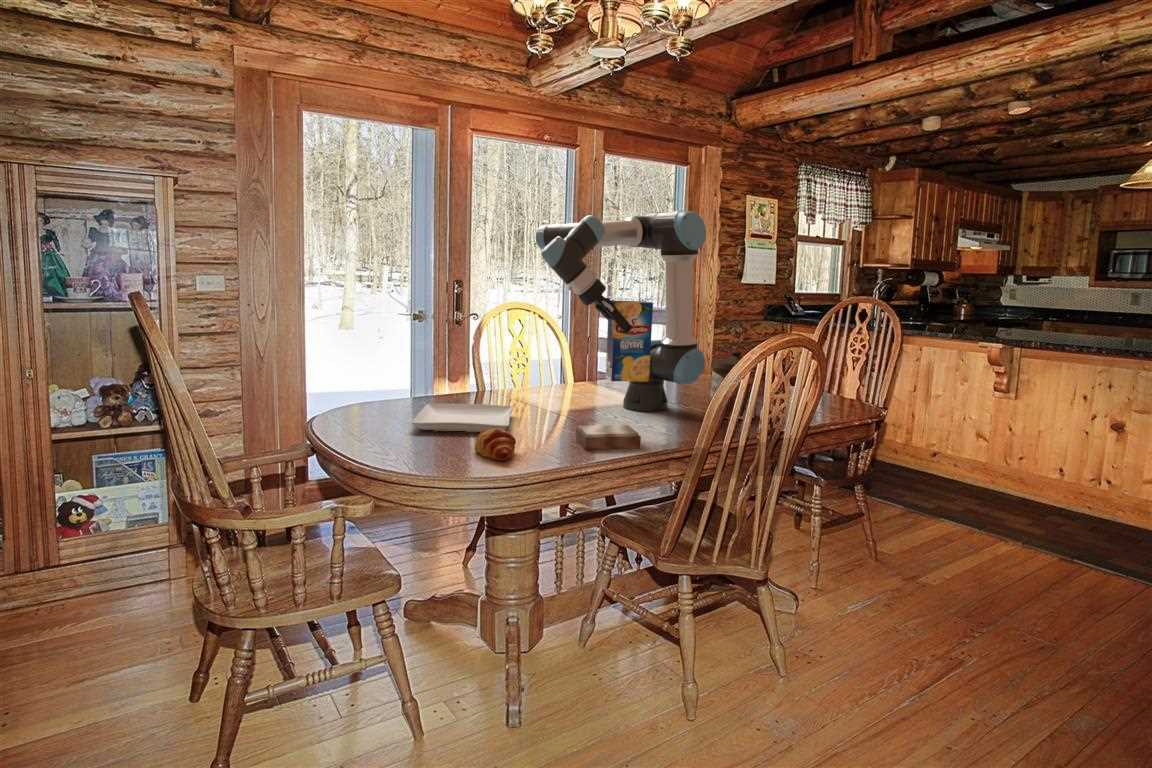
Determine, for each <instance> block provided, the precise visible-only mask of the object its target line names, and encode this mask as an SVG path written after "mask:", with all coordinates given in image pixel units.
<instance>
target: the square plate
mask: <svg viewBox="0 0 1152 768" xmlns="http://www.w3.org/2000/svg"><path fill="white" fill-rule="evenodd" d="M513 411H514V406H513V405H501V404H500V405H498V404H482V403H478V404H477V403H427V404H425V406H424V407H422V409H421V411H420V412H419V413H418V414H417V415H416V416H415V417H414V418H413V419H412V421H411V424H412V425H413V427H415V428H417V429H419V430H423V431H429V430H436V431H435V432H437V431H466V432H465V433H477V432H482V431H485V430H491V429H501V430H504V431H506V429H508V428H509V426H510V421H511V415H512V412H513Z"/></svg>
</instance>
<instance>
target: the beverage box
mask: <svg viewBox="0 0 1152 768" xmlns="http://www.w3.org/2000/svg"><path fill="white" fill-rule="evenodd" d="M609 300H610V301H611V303H613V304H614V306H615V307H616V308H617V310H618V311H619V312H620V313H621V314H622V315H623V317H624V318H625V319H626V320H627V321H628V322H629V324H630V325H631V326H632V327H633V328H632V329H631V330H630V331H629V332H628V333H627V334H626V333H624V331H623V330H622V329H621V328H620V326H619V325H618V324H617V323H616V322H615V321H614V319H613V321H612V320H611V319H610V320H609V319H608V320H607V333H606V335H607V337H606V338H607V339H606V356H605V357H606V359H605V379H607V380H609V381H611V382H629V381H649V369H650V351H651V340H652V331H653V329H652V327H653V312H654V302H651V301H647V300H646V301H645V300H643V301H642V300H613V299H612V300H611V299H609Z"/></svg>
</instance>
